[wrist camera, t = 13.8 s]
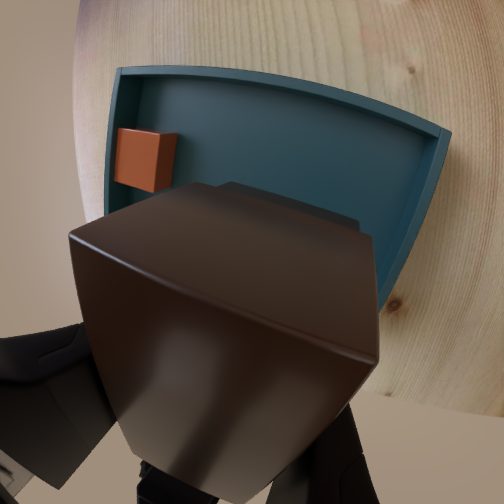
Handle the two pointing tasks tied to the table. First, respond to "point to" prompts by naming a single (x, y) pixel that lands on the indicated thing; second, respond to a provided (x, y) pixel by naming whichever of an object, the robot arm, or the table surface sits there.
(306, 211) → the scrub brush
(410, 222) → the tray
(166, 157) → the clay crumb
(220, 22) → the table surface
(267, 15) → the table surface
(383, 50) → the table surface
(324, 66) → the table surface
